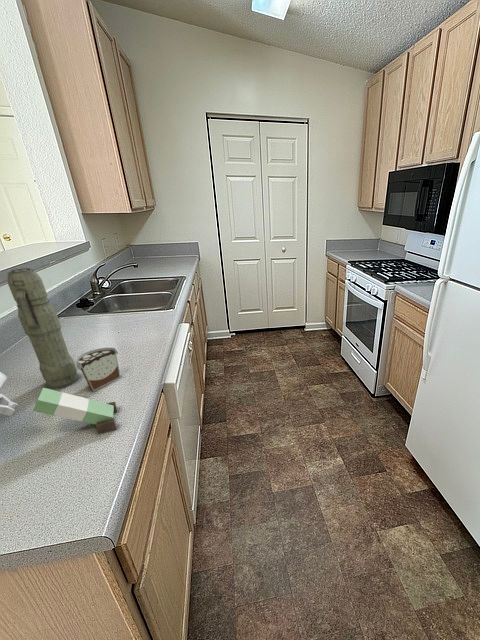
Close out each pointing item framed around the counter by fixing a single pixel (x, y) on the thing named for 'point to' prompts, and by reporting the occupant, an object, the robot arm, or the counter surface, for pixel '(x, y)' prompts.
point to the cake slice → (99, 367)
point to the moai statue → (42, 327)
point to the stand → (107, 422)
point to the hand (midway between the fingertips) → (14, 410)
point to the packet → (72, 407)
